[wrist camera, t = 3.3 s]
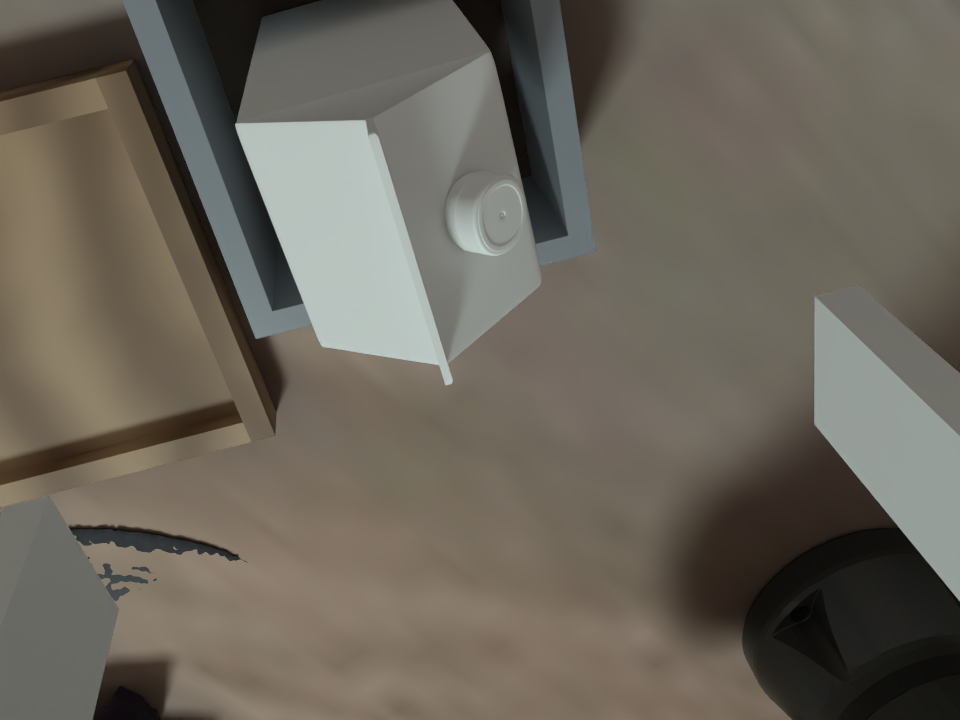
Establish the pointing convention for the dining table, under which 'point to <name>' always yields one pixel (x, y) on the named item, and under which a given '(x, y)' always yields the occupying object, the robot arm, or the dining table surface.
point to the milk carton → (389, 174)
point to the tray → (108, 296)
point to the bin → (235, 194)
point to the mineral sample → (127, 710)
